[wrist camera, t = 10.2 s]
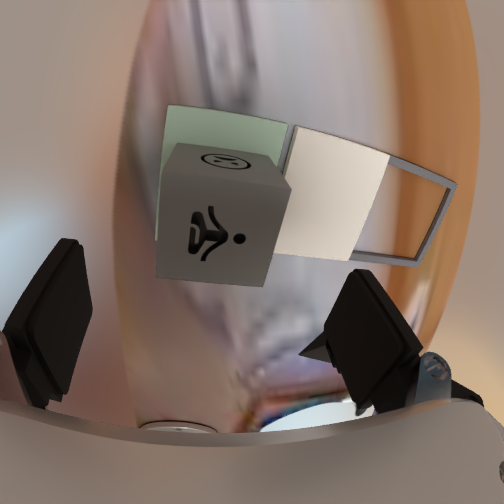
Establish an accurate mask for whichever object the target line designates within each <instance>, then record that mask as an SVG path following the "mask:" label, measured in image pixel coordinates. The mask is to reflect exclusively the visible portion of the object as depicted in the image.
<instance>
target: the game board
mask: <svg viewBox="0 0 504 504" xmlns="http://www.w3.org/2000/svg"><path fill="white" fill-rule="evenodd" d="M287 127H288V124H286V123H283V122H279V121H274V120H270V119H265V118H260V117H255V116H250V115H244V114H239V113H233V112H227V111H220V110H214V109H206V108H199V107H190V106H181V105H171V104H170V105H168V109H167V116H166V123H165V130H164V137H163V145H162V154H161V163H160V172H159V183H158V196H157V210H156V228H155V240H157V232H158V213H159V198H160V186H161V175H162V170H163V168H164V166H165V164H166V162H167V160H168V158H169V157H170V155H171V153H172V151H173V149H174V147H175V146H176V144H177V143H185V144H194V145H202V146H210V147H217V148H224V149H231V150H238V151H244V152H250V153H256V154H261V155H267V156H269V157H270V158H271V160H272V161H273V163H274V164H275V165H276V167H277V166H278V162H279V158H280V154H281V150H282V146H283V143H284V139H285V135H286V131H287ZM387 164H390V165H393V166H395V167H398V168H401V169H403V170H406V171H409V172H411V173H414V174H416V175H419V176H421V177H424V178H426V179H429V180H431V181H433V182H436V183H438V184H441V185H443V186H445V187H447V191H446V193H445V196H444V198H443V200H442V203H441V205H440V207H439V210H438V212H437V214H436V216H435V218H434V221H433V223H432V225H431V227H430V229H429V231H428V233H427V235H426V237H425V239H424V241H423V243H422V245H421V247H420V249H419V251H418V253H417V255H416V257H415V259H411V258H404V257H397V256H390V255H383V254H375V253H368V252H360V251H353V249H354V247H355V244H356V242H357V240H358V237H359V235H360V233H361V230H362V228H363V226H364V223H365V221H366V218H367V216H368V214H369V211H370V209H371V206H372V204H373V201H374V199H375V196H376V193H377V191H378V188H379V186H380V183H381V180H382V177H383V175H384V172H385V169H386V166H387ZM282 175H283V177H284V178H285V180H286V181H287V183H288V184H289V186H290V187H291V189H292V191H291V194H290V198H289V201H288V205H287V208H286V212H285V215H284V218H283V222H282V225H281V229H280V232H279V235H278V239H277V242H276V245H275V249H274V252H273V253H277V254H287V255H296V256H305V257H314V258H323V259H332V260H342V261H348V260H355V261H364V262H373V263H381V264H390V265H399V266H408V267H416V268H418V267H419V265H420V263H421V261H422V259H423V258H424V256H425V254H426V252H427V250H428V248H429V246H430V244H431V242H432V240H433V238H434V236H435V234H436V232H437V230H438V228H439V226H440V224H441V222H442V220H443V218H444V215H445V213H446V211H447V209H448V207H449V204H450V202H451V200H452V197H453V195H454V192H455V190H456V188H457V185H458V184H456V183H455V182H453V181H451V180H448V179H446V178H444V177H442V176H440V175H438V174H436V173H433V172H431V171H429V170H427V169H424V168H422V167H420V166H417V165H415V164H412V163H410V162H407V161H405V160H402V159H400V158H397V157H395V156H392V155H390V154H387V153H384V152H381V151H379V150H376V149H373V148H370V147H367V146H364V145H361V144H358V143H355V142H352V141H349V140H346V139H343V138H339V137H336V136H333V135H329V134H326V133H322V132H319V131H315V130H311V129H308V128H304V127H300V126H295V129H294V133H293V137H292V141H291V144H290V148H289V152H288V156H287V159H286V163H285V167H284V171H283V174H282Z"/></svg>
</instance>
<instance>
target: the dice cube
mask: <svg viewBox="0 0 504 504" xmlns="http://www.w3.org/2000/svg"><path fill="white" fill-rule="evenodd" d="M291 191H292V189H291V187H290V186H289V184H288V183H287V181H286V180H285V178H284V177H283V175H282V174H281V173H280V171H279V170H278V168H277V167H276V165H275V164H274V163H273V161H272V160H271V158H270V157H269V156H267V155H261V154H256V153H250V152H244V151H238V150H231V149H224V148H217V147H210V146H202V145H194V144H185V143H177V144H176V146H175V147H174V149H173V151H172V153H171V155H170V157H169V158H168V160H167V162H166V164H165V166H164V168H163V170H162V175H161V186H160V198H159V213H158V232H157V266H156V278H166V279H175V280H185V281H196V282H207V283H218V284H229V285H242V286H255V287H263V285H264V282H265V278H266V275H267V272H268V269H269V265H270V262H271V259H272V255H273V252H274V249H275V245H276V242H277V239H278V235H279V232H280V229H281V225H282V222H283V218H284V215H285V212H286V208H287V205H288V201H289V198H290V194H291Z"/></svg>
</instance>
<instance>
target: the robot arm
mask: <svg viewBox="0 0 504 504" xmlns="http://www.w3.org/2000/svg"><path fill="white" fill-rule="evenodd" d="M91 316H92V302H91V296H90V291H89V285H88V279H87V273H86V265H85V258H84V249H83V246H82V245H80V244H79V242H78V241H77V240H75V239H67V238H61V239H60V240H59V242H58V243H57V244H56V246H55V247H54V248H53V250H52V251H51V252H50V254H49V255H48V257H47V258H46V259H45V261H44V262H43V264H42V265H41V266H40V268H39V269H38V271H37V272H36V274H35V275H34V277H33V278H32V280H31V281H30V283H29V285H28V286H27V288H26V289H25V291H24V292H23V294H22V295H21V297H20V299H19V300H18V302H17V304H16V305H15V307H14V309H13V311H12V312H11V314H10V316H9V318H8V320H7V321H6V323H5V326H4V329H3V330H2V332H1V331H0V504H504V427H503V426H502V425H501V424H500V423H499V422H498V421H497V420H496V419H495V418H494V417H493V416H492V415H491V414H490V413H489V412H487V411H486V410H485V408H484V405H483V400H482V398H481V397H480V396H479V395H478V394H476V393H475V392H473V391H471V390H469V389H467V388H466V387H464V386H462V385H460V384H459V383H457V382H455V381H453V380H452V379H451V369H450V367H449V365H448V363H447V362H446V360H444V359H443V358H442V357H441V356H439V355H438V354H436V353H433V352H426V353H424V354H423V355H422V356H421V357H420V356H419V352H420V351H421V350H422V349H423V346H422V345H421V343H420V341H419V340H418V338H417V337H416V335H415V334H414V332H413V331H412V329H411V328H410V326H409V325H408V323H407V322H406V320H405V319H404V317H403V316H402V314H401V313H400V311H399V310H398V308H397V307H396V306H395V304H394V303H393V301H392V300H391V298H390V297H389V296H388V294H387V293H386V291H385V290H384V289H383V287H382V286H381V284H380V283H379V282H378V280H377V279H376V278H375V276H374V275H373V274H372V272H371V271H370V270H365V269H354V270H353V272H351V273H349V275H348V277H347V279H346V281H345V283H344V285H343V287H342V289H341V291H340V294H339V296H338V298H337V300H336V302H335V304H334V306H333V308H332V310H331V312H330V314H329V316H328V318H327V320H326V322H325V324H324V333H325V335H326V337H327V340H328V342H329V345H330V347H331V349H332V352H333V354H334V357H335V359H336V361H337V364H338V366H339V369H340V371H341V374H342V376H343V379H344V381H345V384H346V386H347V389H348V391H349V394H350V396H351V399H352V401H353V402H355V403H356V405H357V407H358V410H360V409H364V408H369V407H371V406H372V405H373V406H374V408H375V409H374V412H373V415H372V416H369V417H364V418H360V419H355V420H350V421H345V422H340V423H334V424H329V425H322V426H315V427H308V428H301V429H293V430H282V431H271V432H256V433H217V432H216V431H215V430H213V429H211V428H209V427H206V426H202V425H198V424H193V423H186V422H154V423H149V424H146V425H144V426H142V427H141V428H140V429H139V428H132V427H125V426H118V425H113V424H107V423H101V422H96V421H91V420H85V419H81V418H77V417H72V416H68V415H63V414H60V413H56V412H52V411H49V410H48V408H47V405H48V403H49V399H51V400H55V401H58V402H61V401H62V396H63V394H65V395H66V394H67V393H68V390H69V386H70V383H71V379H72V375H73V372H74V368H75V365H76V361H77V358H78V355H79V352H80V348H81V345H82V342H83V339H84V336H85V333H86V330H87V327H88V324H89V322H90V319H91Z"/></svg>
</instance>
